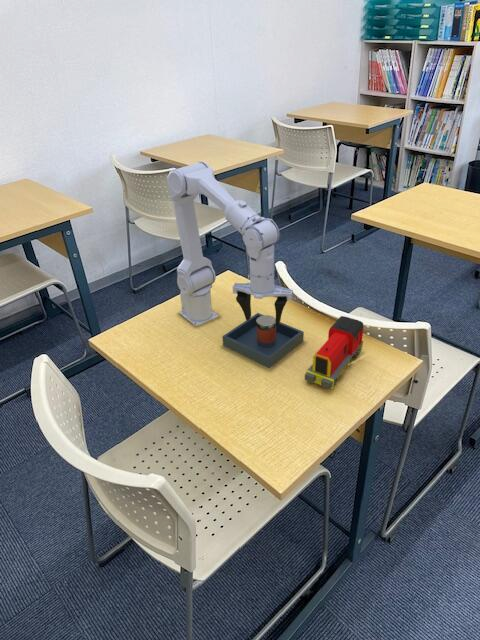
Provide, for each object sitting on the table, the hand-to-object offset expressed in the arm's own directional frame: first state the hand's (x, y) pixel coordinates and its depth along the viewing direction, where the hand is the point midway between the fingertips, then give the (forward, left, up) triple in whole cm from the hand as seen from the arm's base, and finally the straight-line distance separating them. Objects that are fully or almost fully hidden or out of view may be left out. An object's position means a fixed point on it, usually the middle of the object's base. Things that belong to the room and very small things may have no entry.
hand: (263, 320), depth 120 cm
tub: (-2, +2, -10) cm, 10 cm away
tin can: (-2, +3, -9) cm, 10 cm away
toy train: (+17, +9, -10) cm, 21 cm away
